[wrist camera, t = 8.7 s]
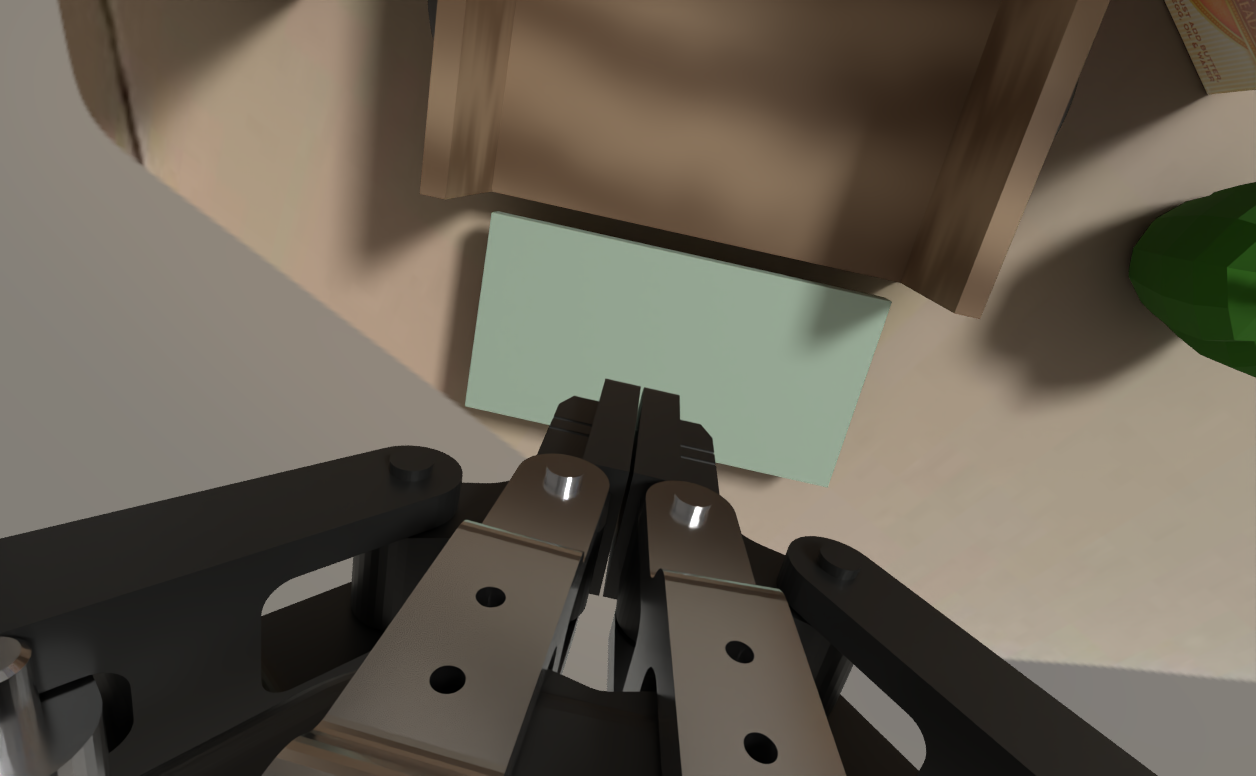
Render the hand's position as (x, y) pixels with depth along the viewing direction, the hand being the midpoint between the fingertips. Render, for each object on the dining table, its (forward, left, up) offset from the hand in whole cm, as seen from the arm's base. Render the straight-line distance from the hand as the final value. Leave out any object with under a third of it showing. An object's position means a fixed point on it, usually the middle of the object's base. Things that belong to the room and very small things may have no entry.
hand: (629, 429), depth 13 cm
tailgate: (-1, +1, -20) cm, 20 cm away
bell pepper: (-6, +25, -23) cm, 34 cm away
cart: (-9, +1, -22) cm, 24 cm away
